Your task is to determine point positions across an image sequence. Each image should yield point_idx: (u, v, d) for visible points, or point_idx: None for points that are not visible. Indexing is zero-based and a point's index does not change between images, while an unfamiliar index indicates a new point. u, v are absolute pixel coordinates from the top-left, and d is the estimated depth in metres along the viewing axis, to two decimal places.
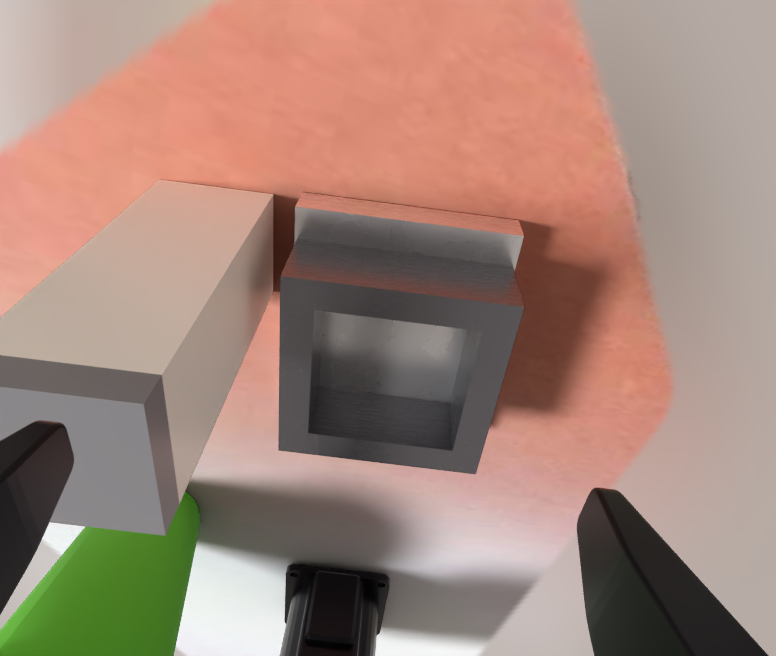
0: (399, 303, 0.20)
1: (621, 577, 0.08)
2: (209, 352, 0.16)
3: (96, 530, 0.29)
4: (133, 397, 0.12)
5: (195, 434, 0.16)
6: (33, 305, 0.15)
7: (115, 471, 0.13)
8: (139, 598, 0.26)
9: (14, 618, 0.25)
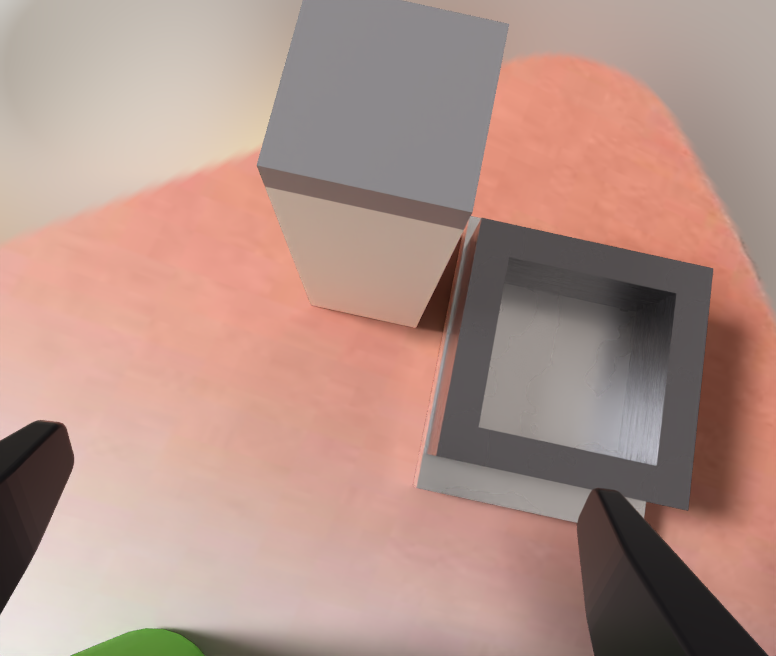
0: (593, 255, 0.20)
1: (621, 577, 0.08)
2: None
3: (88, 650, 0.17)
4: (494, 26, 0.13)
5: None
6: None
7: (447, 105, 0.12)
8: None
9: None
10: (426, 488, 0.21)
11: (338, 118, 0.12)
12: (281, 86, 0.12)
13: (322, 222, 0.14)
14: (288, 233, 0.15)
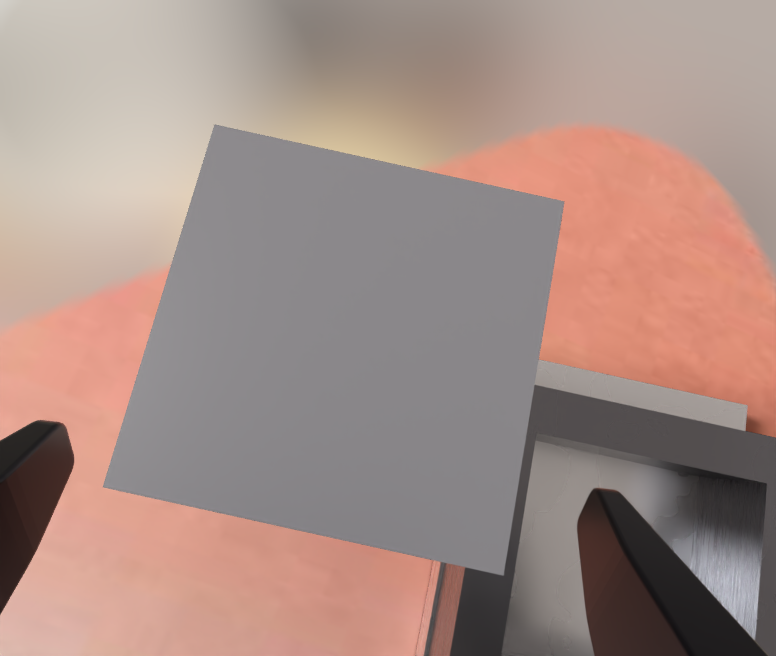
0: (652, 429, 0.15)
1: (621, 577, 0.08)
2: None
3: None
4: None
5: None
6: None
7: (457, 357, 0.07)
8: None
9: None
10: None
11: (258, 388, 0.07)
12: (157, 325, 0.07)
13: None
14: None
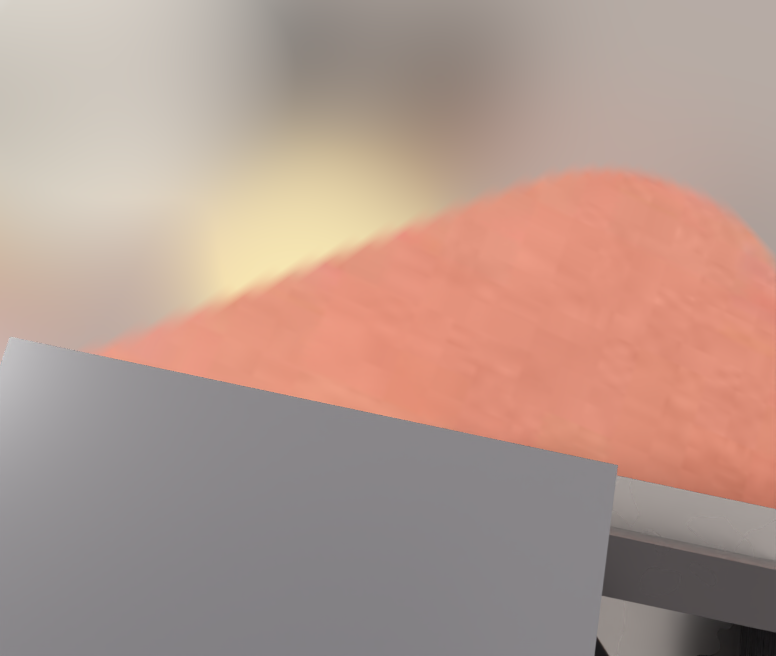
0: (696, 578, 0.12)
1: None
2: None
3: None
4: None
5: None
6: None
7: None
8: None
9: None
10: None
11: None
12: None
13: None
14: None
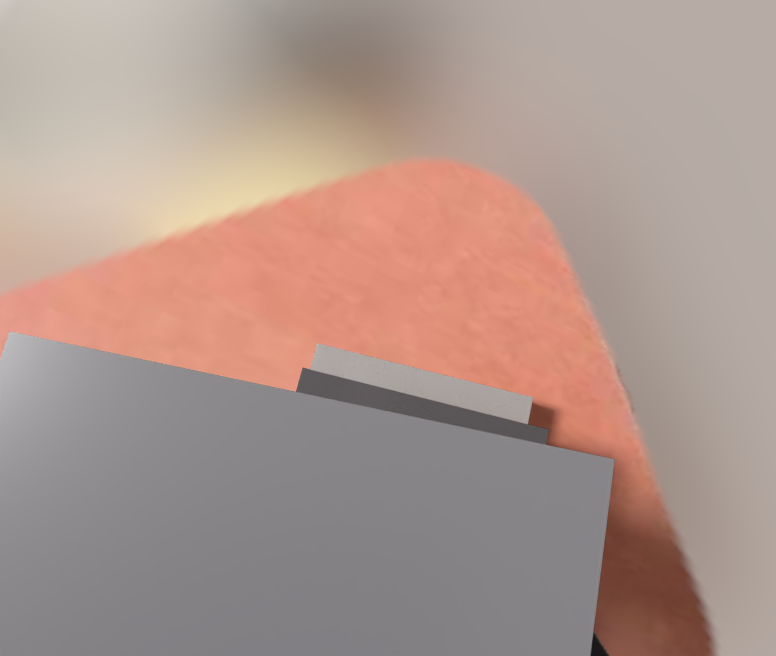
0: (420, 412, 0.19)
1: None
2: None
3: None
4: None
5: None
6: None
7: None
8: None
9: None
10: None
11: None
12: None
13: None
14: None
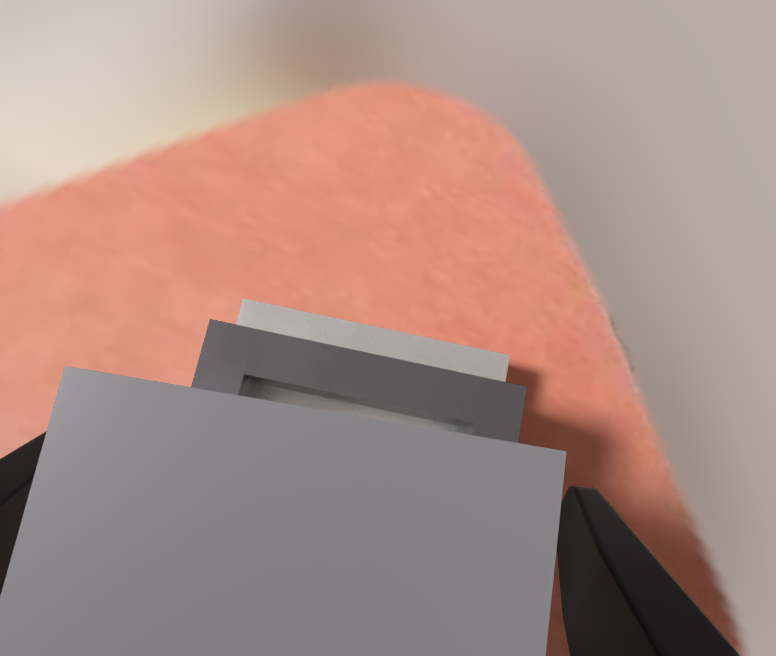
0: (361, 370, 0.15)
1: (595, 574, 0.08)
2: None
3: None
4: (528, 446, 0.05)
5: None
6: None
7: None
8: None
9: None
10: None
11: None
12: None
13: None
14: None
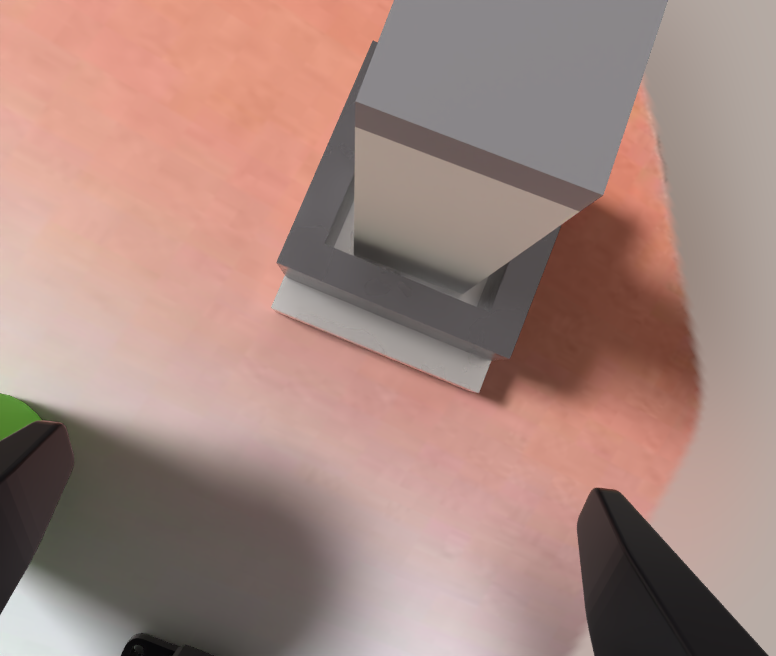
0: None
1: (621, 577, 0.08)
2: None
3: None
4: None
5: None
6: None
7: (592, 57, 0.10)
8: None
9: None
10: (280, 310, 0.22)
11: (459, 56, 0.10)
12: (395, 5, 0.10)
13: (407, 176, 0.12)
14: (360, 181, 0.13)
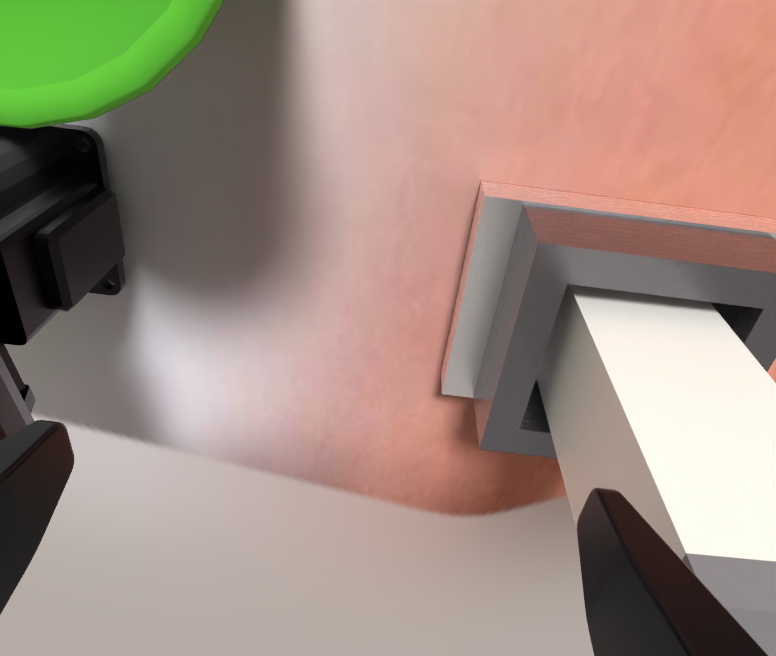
0: None
1: (621, 577, 0.08)
2: None
3: None
4: None
5: None
6: None
7: None
8: None
9: None
10: (484, 206, 0.19)
11: None
12: None
13: None
14: (635, 446, 0.13)
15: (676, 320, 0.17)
